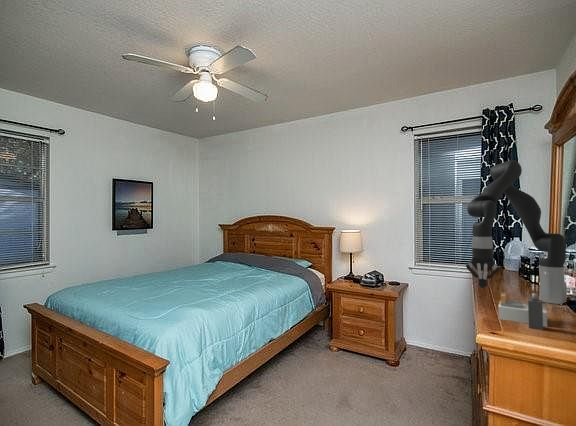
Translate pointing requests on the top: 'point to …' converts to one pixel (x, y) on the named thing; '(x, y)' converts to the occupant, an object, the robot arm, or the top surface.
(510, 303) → the shutter
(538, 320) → the plug
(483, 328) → the top surface
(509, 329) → the top surface
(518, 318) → the socket block
